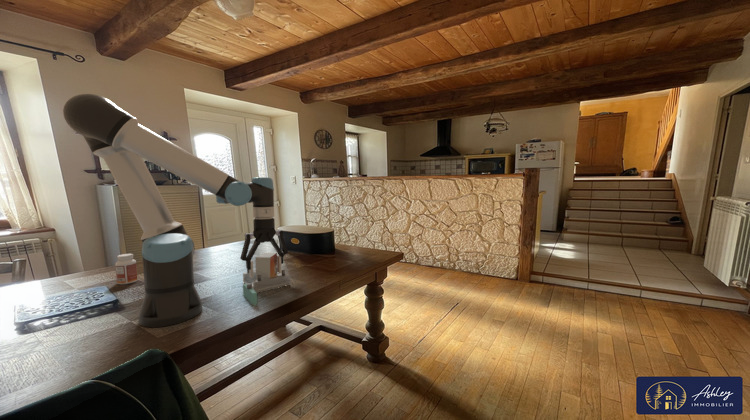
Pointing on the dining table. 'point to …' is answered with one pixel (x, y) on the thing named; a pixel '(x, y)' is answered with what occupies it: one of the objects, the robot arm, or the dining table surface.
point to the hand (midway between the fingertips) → (265, 274)
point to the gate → (250, 294)
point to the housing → (266, 281)
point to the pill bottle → (126, 269)
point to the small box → (266, 265)
